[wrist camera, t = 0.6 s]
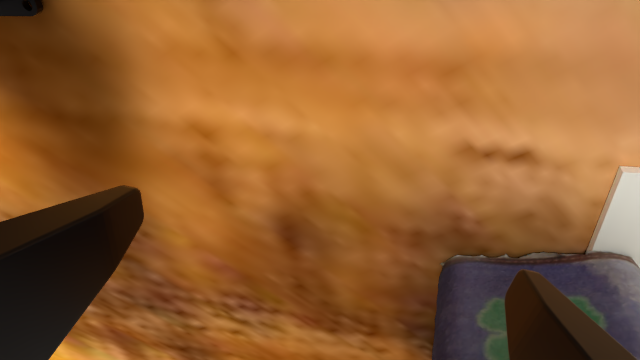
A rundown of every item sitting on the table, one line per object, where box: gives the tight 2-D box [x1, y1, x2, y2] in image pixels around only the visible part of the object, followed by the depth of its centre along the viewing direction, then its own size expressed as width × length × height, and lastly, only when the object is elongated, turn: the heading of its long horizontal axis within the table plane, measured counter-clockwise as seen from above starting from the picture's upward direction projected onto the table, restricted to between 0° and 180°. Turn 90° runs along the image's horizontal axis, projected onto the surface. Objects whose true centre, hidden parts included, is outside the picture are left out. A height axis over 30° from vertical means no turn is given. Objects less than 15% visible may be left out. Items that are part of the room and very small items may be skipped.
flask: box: [432, 250, 640, 360], centre depth 21 cm, size 10×3×12 cm, turn 107°
